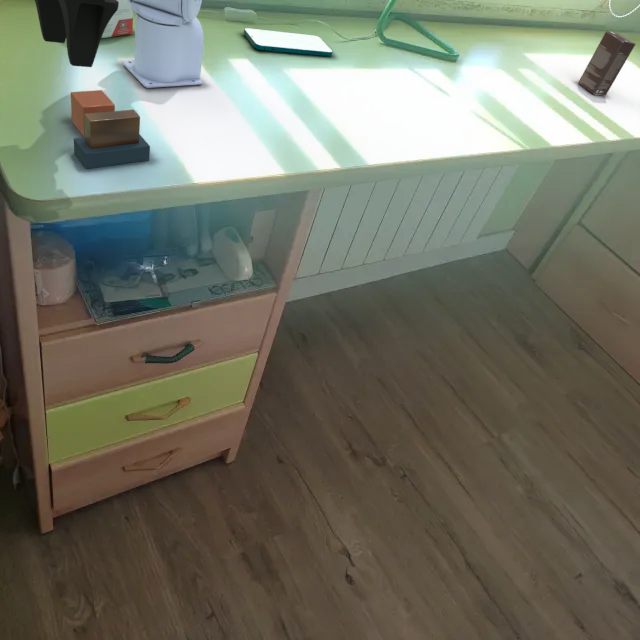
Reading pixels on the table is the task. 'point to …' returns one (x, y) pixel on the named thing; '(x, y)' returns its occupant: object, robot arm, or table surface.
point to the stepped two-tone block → (111, 139)
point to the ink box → (120, 21)
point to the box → (606, 63)
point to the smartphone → (287, 42)
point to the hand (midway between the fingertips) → (67, 53)
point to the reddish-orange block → (88, 106)
